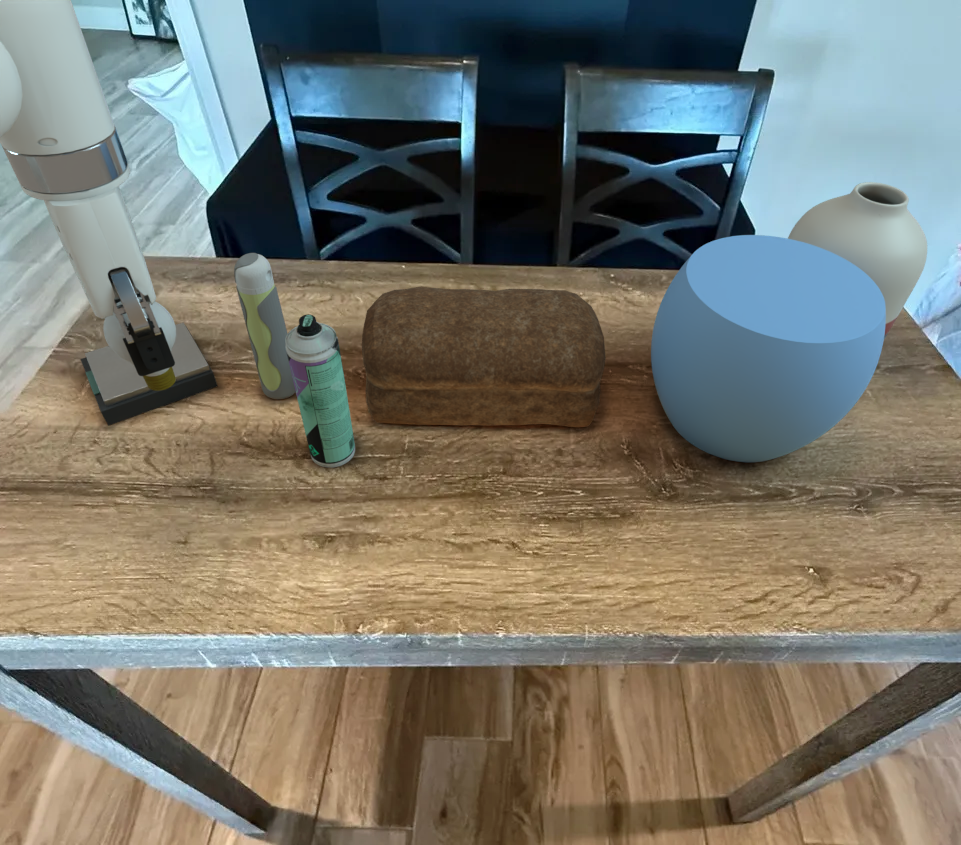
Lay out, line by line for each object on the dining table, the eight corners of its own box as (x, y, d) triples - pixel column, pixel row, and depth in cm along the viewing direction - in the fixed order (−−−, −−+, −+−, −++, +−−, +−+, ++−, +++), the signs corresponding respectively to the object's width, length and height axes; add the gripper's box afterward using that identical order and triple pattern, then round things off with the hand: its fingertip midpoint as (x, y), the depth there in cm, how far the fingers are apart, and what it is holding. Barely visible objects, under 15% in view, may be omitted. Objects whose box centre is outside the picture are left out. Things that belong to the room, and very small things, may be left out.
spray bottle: (290, 404, 89) (259, 273, 75) (256, 397, 89) (218, 266, 75) (306, 380, 92) (278, 250, 78) (273, 374, 93) (240, 244, 79)
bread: (600, 434, 86) (618, 354, 77) (361, 429, 86) (349, 348, 76) (586, 350, 98) (600, 272, 89) (376, 345, 98) (368, 266, 88)
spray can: (347, 429, 86) (325, 298, 72) (361, 459, 82) (341, 327, 68) (305, 443, 84) (273, 310, 70) (317, 473, 80) (287, 341, 66)
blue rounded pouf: (865, 483, 81) (953, 352, 67) (662, 491, 80) (707, 358, 65) (785, 352, 99) (841, 226, 85) (618, 356, 97) (645, 228, 83)
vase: (761, 299, 109) (817, 153, 92) (874, 328, 104) (954, 180, 87) (743, 359, 98) (802, 206, 81) (868, 395, 93) (959, 241, 76)
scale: (108, 426, 85) (97, 406, 83) (87, 373, 92) (77, 353, 90) (217, 386, 91) (211, 366, 88) (190, 339, 98) (183, 319, 95)
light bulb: (153, 364, 69) (118, 280, 62) (206, 373, 68) (177, 289, 61) (119, 402, 65) (78, 317, 58) (175, 413, 64) (140, 328, 57)
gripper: (-2, 128, 54) (86, 314, 66) (30, 222, 44) (127, 420, 56) (99, 111, 57) (164, 292, 69) (151, 195, 47) (216, 389, 59)
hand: (147, 348), depth 63 cm, fingers closed on light bulb, 5 cm apart
